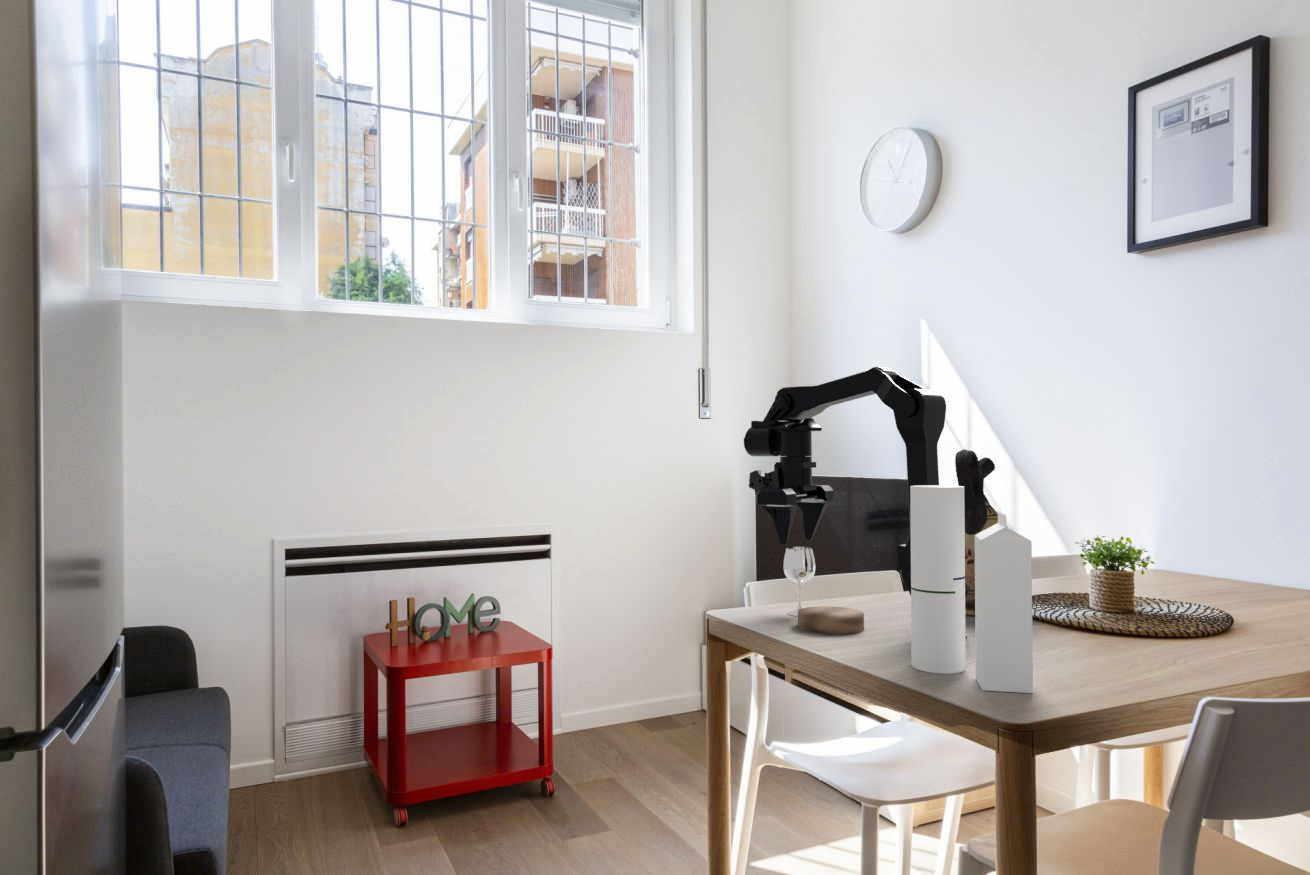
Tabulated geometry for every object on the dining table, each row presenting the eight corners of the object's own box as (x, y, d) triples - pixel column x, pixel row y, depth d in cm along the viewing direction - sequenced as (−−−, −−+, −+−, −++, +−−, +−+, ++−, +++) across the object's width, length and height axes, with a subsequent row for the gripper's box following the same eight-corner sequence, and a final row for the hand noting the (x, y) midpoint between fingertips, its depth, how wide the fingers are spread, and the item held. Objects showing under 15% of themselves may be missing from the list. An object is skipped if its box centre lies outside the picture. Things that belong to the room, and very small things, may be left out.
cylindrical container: (977, 669, 117) (975, 486, 117) (940, 676, 113) (939, 488, 114) (936, 658, 123) (935, 484, 124) (900, 664, 120) (899, 486, 120)
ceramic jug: (954, 601, 168) (952, 449, 168) (1036, 611, 158) (1034, 449, 158) (917, 614, 155) (916, 449, 155) (1004, 626, 145) (1003, 449, 145)
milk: (1023, 681, 111) (1023, 511, 111) (1033, 694, 105) (1033, 515, 106) (974, 678, 113) (974, 510, 113) (980, 691, 107) (980, 514, 107)
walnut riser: (875, 626, 145) (875, 611, 145) (845, 637, 137) (845, 621, 137) (817, 618, 152) (817, 604, 152) (785, 628, 144) (785, 613, 144)
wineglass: (818, 616, 153) (817, 550, 153) (785, 616, 153) (785, 550, 154) (812, 610, 159) (812, 546, 159) (781, 610, 159) (781, 546, 159)
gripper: (783, 456, 168) (783, 535, 168) (730, 457, 154) (731, 543, 153) (834, 456, 161) (835, 538, 161) (784, 457, 147) (785, 548, 146)
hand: (796, 542), depth 156 cm, fingers open, 9 cm apart
